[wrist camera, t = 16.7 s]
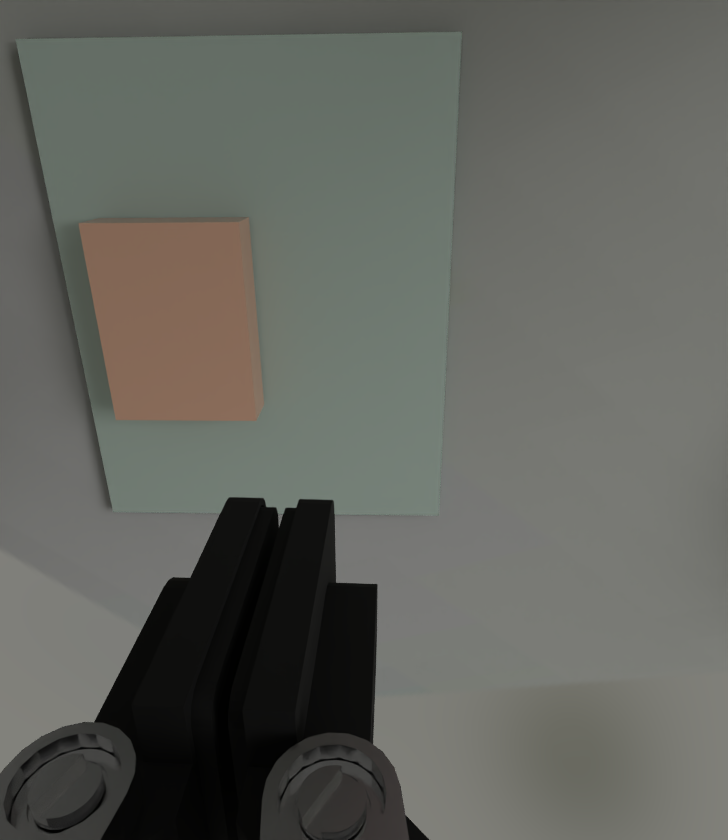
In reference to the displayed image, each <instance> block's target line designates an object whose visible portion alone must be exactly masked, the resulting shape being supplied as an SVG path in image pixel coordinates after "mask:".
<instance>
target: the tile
mask: <svg viewBox="0 0 728 840" xmlns="http://www.w3.org/2000/svg"><path fill="white" fill-rule="evenodd" d="M78 224H79V230H80V235H81V240H82V245H83V251H84V256H85V261H86V266H87V272H88V277H89V282H90V287H91V293H92V298H93V303H94V308H95V314H96V319H97V324H98V329H99V335H100V340H101V345H102V350H103V356H104V361H105V366H106V371H107V377H108V382H109V387H110V392H111V397H112V403H113V408H114V413H115V418H116V420H186V421H257V419H258V416H259V414H260V412H261V410H262V408H263V406H264V396H263V384H262V371H261V359H260V347H259V335H258V322H257V310H256V298H255V286H254V274H253V261H252V249H251V237H250V225H249V217H168V218H97V219H93V220H89V221H85V222H81V223H78Z"/></svg>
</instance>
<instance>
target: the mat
mask: <svg viewBox="0 0 728 840" xmlns="http://www.w3.org/2000/svg"><path fill="white" fill-rule="evenodd" d="M461 42H462V32H407V33H347V34H287V35H227V36H166V37H106V38H46V39H16V44H17V49H18V54H19V59H20V64H21V68H22V73H23V78H24V83H25V88H26V93H27V97H28V102H29V107H30V112H31V117H32V122H33V127H34V131H35V136H36V141H37V146H38V151H39V156H40V160H41V165H42V170H43V175H44V180H45V185H46V189H47V194H48V199H49V204H50V209H51V214H52V219H53V223H54V228H55V233H56V238H57V243H58V248H59V252H60V257H61V262H62V267H63V272H64V277H65V282H66V286H67V291H68V296H69V301H70V306H71V311H72V315H73V320H74V325H75V330H76V335H77V340H78V345H79V349H80V354H81V359H82V364H83V369H84V374H85V378H86V383H87V388H88V393H89V398H90V403H91V407H92V412H93V417H94V422H95V427H96V432H97V437H98V441H99V446H100V451H101V456H102V461H103V466H104V470H105V475H106V480H107V485H108V490H109V495H110V500H111V504H112V509H113V512H144V513H221V511H222V509H223V507H224V505H225V503H226V501H227V499H228V498H229V497H248V498H264V500H265V503H266V507H276V508H277V512H278V514H284V510H285V508H296V507H297V504H298V501H299V499H320V500H333V501H334V514H336V515H433V516H439V505H440V484H441V463H442V442H443V421H444V400H445V379H446V358H447V337H448V316H449V295H450V274H451V253H452V232H453V211H454V189H455V168H456V147H457V126H458V105H459V84H460V63H461ZM168 217H249V225H250V237H251V249H252V261H253V274H254V286H255V298H256V310H257V322H258V335H259V347H260V359H261V371H262V384H263V396H264V406H263V408H262V410H261V412H260V414H259V416H258V419H257V421H186V420H116V418H115V413H114V408H113V403H112V397H111V392H110V387H109V382H108V377H107V371H106V366H105V361H104V356H103V350H102V345H101V340H100V335H99V329H98V324H97V319H96V314H95V308H94V303H93V298H92V293H91V287H90V282H89V277H88V272H87V266H86V261H85V256H84V251H83V245H82V240H81V235H80V230H79V224H78V223H81V222H85V221H89V220H93V219H97V218H168Z"/></svg>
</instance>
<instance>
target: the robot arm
mask: <svg viewBox="0 0 728 840" xmlns="http://www.w3.org/2000/svg"><path fill="white" fill-rule="evenodd" d="M376 642H377V584H356V583H336V562H335V514H334V501H333V500H320V499H299V501H298V504H297V507H296V508H285V510H284V514H283V517H282V520H281V524H280V527H279V524H278V512H277V508H276V507H266V503H265V500H264V498H248V497H229V498H228V499H227V501H226V503H225V505H224V507H223V509H222V511H221V513H220V515H219V518H218V520H217V522H216V524H215V526H214V528H213V531H212V533H211V535H210V537H209V539H208V541H207V543H206V546H205V548H204V550H203V552H202V554H201V556H200V558H199V561H198V563H197V565H196V567H195V569H194V571H193V573H192V576H191V578H175V577H173V578H171V579H170V580H168V582H167V583H166V585H165V586H164V588H163V590H162V592H161V594H160V595H159V597H158V599H157V601H156V603H155V605H154V607H153V609H152V611H151V613H150V615H149V617H148V619H147V621H146V623H145V625H144V627H143V629H142V630H141V632H140V634H139V636H138V638H137V640H136V642H135V644H134V646H133V648H132V650H131V652H130V654H129V656H128V658H127V660H126V662H125V664H124V666H123V667H122V670H121V671H120V673H119V675H118V677H117V679H116V681H115V683H114V685H113V687H112V689H111V691H110V693H109V695H108V696H107V699H106V700H105V702H104V704H103V706H102V708H101V710H100V712H99V714H98V716H97V718H96V720H95V722H94V723H93V722H82V723H78V724H74V725H69V726H64V727H62V728H59V729H57V730H55V731H52V732H50V733H48V734H46V735H44V736H41V737H40V738H39V739H37V740H36V741H34V742H33V743H31V744H30V745H29V746H27V747H26V748H24V749H23V750H22V751H21V752H20V753H19V754H18V755H17V756H16V757H15V758H14V759H13V760H12V761H11V762H10V763H9V764H8V765H7V766H6V767H5V768H4V770H3V771H2V772H1V773H0V840H429V839H428V838H427V837H426V836H425V835H424V834H423V833H422V832H421V831H420V830H419V829H418V828H417V827H416V826H415V825H414V823H413V822H412V821H411V820H410V819H409V818H408V817H407V816H406V815H405V811H404V805H403V798H402V792H401V786H400V783H399V780H398V777H397V774H396V772H395V768H394V766H393V765H392V764H391V762H390V761H389V760H388V758H387V757H386V756H385V754H384V753H383V752H382V751H381V750H380V749H378V748H377V747H376V746H374V745H373V729H374V728H373V727H374V702H375V676H376Z"/></svg>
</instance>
